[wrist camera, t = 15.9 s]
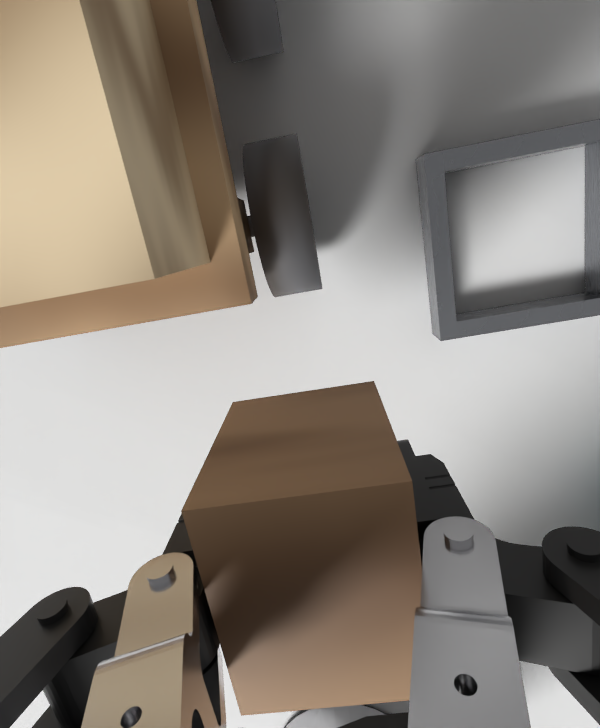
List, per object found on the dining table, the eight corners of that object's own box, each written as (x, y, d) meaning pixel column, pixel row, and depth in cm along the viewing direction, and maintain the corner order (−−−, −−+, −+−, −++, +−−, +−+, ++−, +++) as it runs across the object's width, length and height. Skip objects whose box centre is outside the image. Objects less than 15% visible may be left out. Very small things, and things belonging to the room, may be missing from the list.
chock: (393, 532, 13) (436, 698, 9) (266, 547, 14) (241, 715, 9) (373, 381, 12) (412, 480, 7) (232, 402, 12) (181, 510, 8)
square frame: (601, 306, 21) (622, 311, 20) (432, 333, 22) (440, 340, 21) (604, 122, 19) (627, 113, 18) (415, 159, 20) (423, 154, 18)
